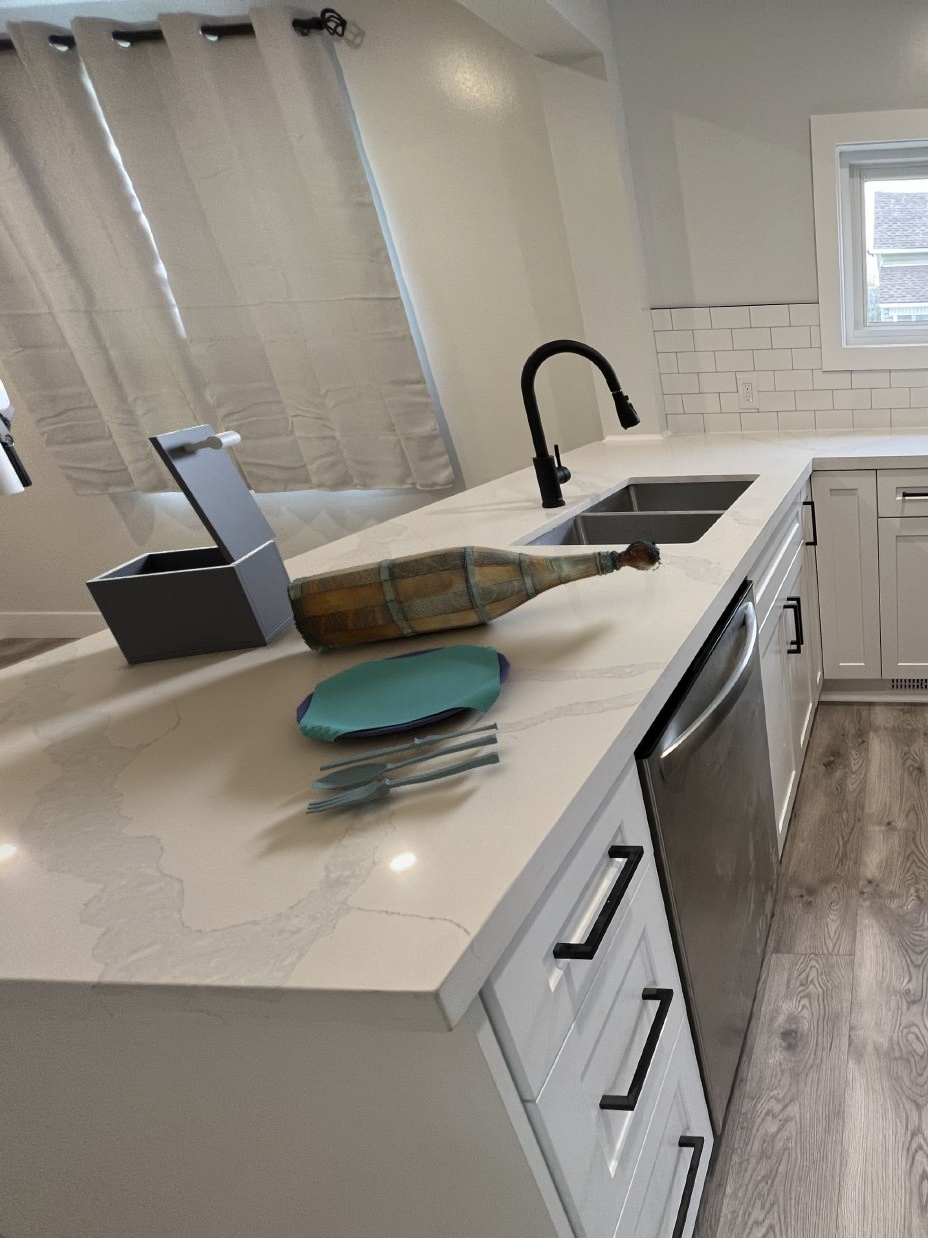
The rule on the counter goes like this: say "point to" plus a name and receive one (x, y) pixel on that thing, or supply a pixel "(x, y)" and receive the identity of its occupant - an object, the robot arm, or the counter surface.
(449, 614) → the decorative bottle
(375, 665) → the cutlery set
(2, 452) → the white cylinder
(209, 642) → the dark grey lidded box
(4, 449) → the robot arm
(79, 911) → the counter surface
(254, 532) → the lid
